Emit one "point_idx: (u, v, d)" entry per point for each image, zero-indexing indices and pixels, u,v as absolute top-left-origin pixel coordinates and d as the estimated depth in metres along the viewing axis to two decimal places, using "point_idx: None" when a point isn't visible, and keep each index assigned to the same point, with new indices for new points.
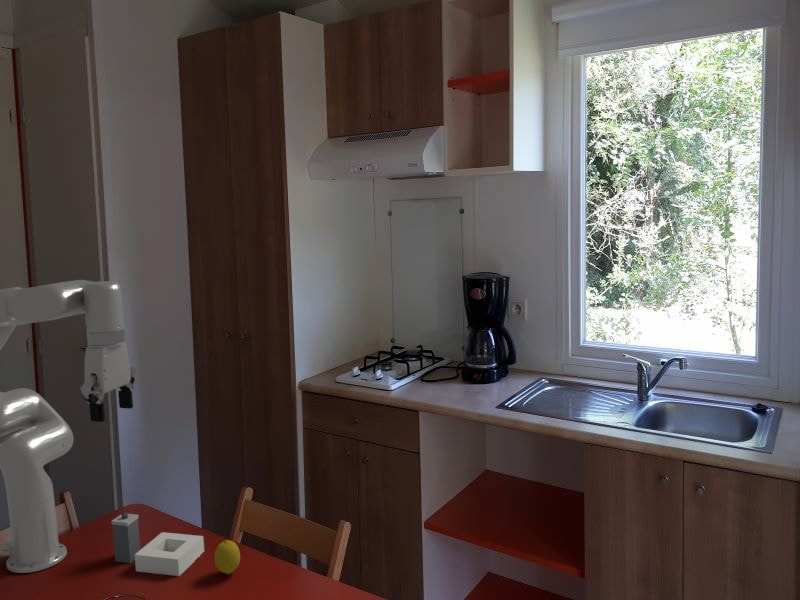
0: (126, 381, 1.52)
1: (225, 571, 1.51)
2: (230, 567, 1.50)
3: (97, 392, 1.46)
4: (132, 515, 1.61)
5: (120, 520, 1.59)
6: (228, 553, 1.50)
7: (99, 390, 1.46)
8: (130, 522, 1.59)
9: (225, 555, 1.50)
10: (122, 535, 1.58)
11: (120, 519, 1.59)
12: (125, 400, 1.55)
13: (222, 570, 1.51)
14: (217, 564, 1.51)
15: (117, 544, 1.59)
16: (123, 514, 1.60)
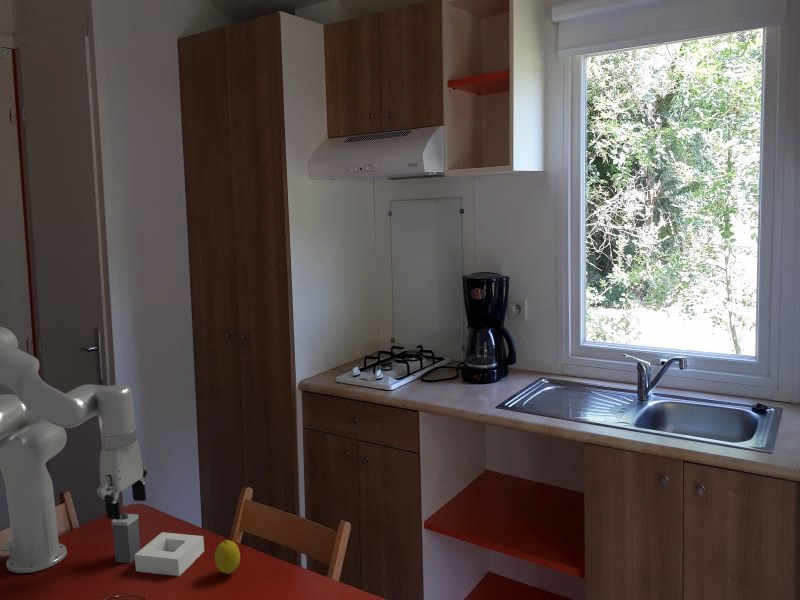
0: (139, 477, 1.61)
1: (225, 571, 1.51)
2: (230, 567, 1.50)
3: (112, 491, 1.55)
4: (132, 515, 1.61)
5: (120, 520, 1.59)
6: (228, 553, 1.50)
7: (114, 490, 1.54)
8: (130, 522, 1.59)
9: (225, 555, 1.50)
10: (122, 535, 1.58)
11: (120, 519, 1.59)
12: (138, 493, 1.64)
13: (222, 570, 1.51)
14: (217, 564, 1.51)
15: (117, 544, 1.59)
16: (123, 514, 1.60)
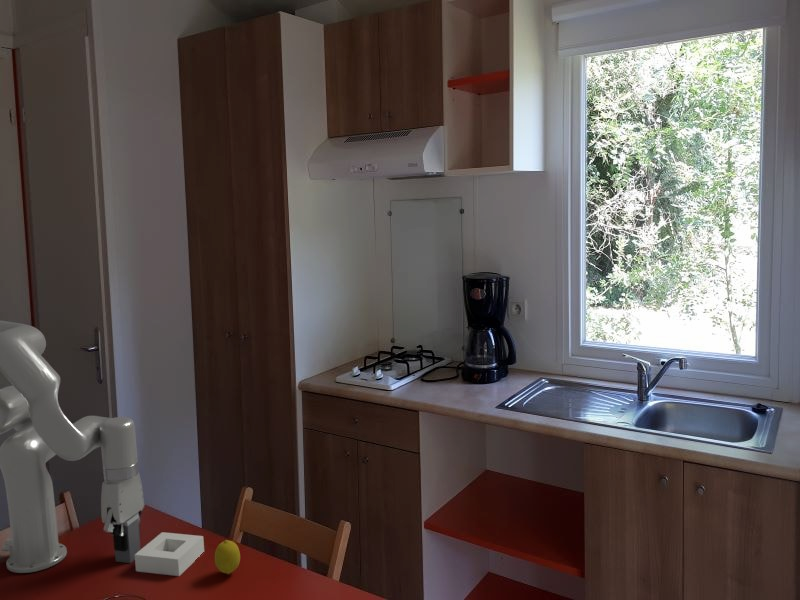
0: (139, 508, 1.62)
1: (225, 571, 1.51)
2: (230, 567, 1.50)
3: None
4: None
5: None
6: (228, 553, 1.50)
7: None
8: (130, 522, 1.59)
9: (225, 555, 1.50)
10: None
11: None
12: None
13: (222, 570, 1.51)
14: (217, 564, 1.51)
15: None
16: None
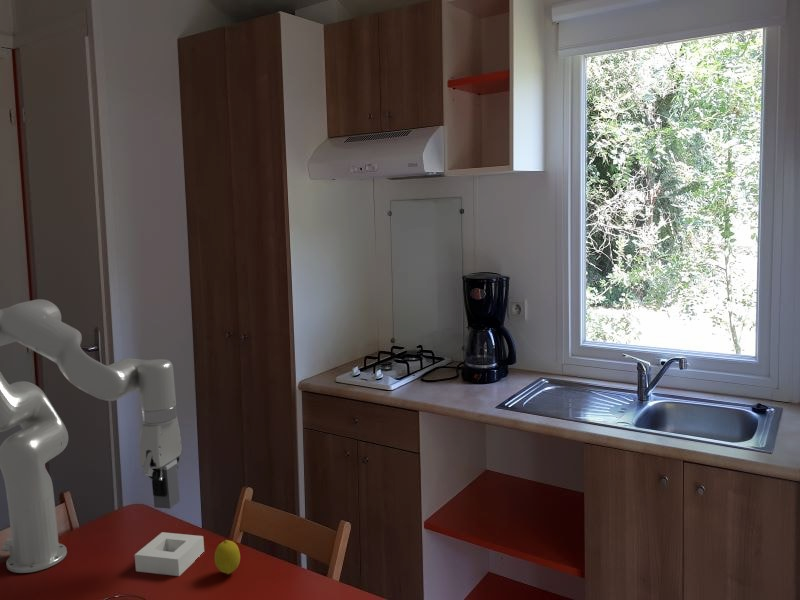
0: (178, 454, 1.58)
1: (225, 571, 1.51)
2: (230, 567, 1.50)
3: (156, 468, 1.54)
4: None
5: None
6: (228, 553, 1.50)
7: (158, 468, 1.53)
8: (169, 466, 1.55)
9: (225, 555, 1.50)
10: None
11: None
12: None
13: (222, 570, 1.51)
14: (217, 564, 1.51)
15: None
16: None
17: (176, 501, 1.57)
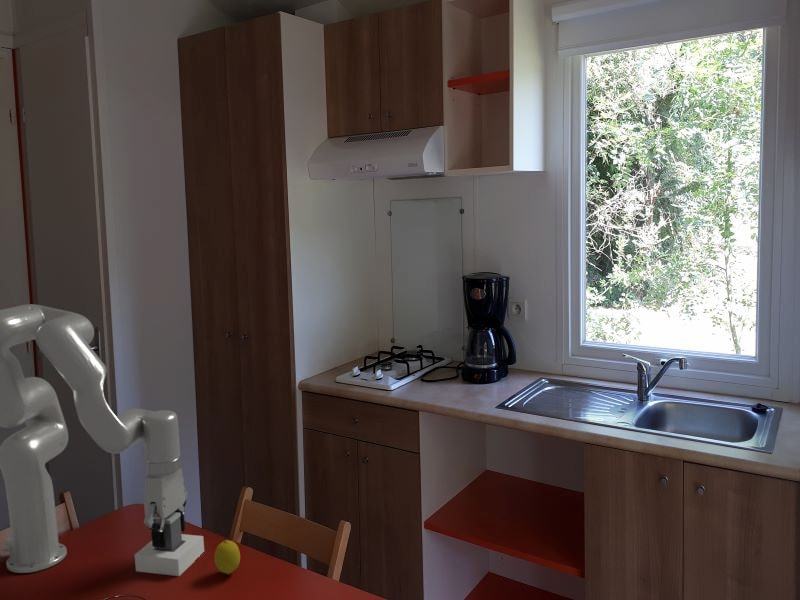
0: (181, 503, 1.60)
1: (225, 571, 1.51)
2: (230, 567, 1.50)
3: (158, 519, 1.54)
4: (174, 513, 1.59)
5: None
6: (228, 553, 1.50)
7: (159, 518, 1.53)
8: (173, 520, 1.56)
9: (225, 555, 1.50)
10: (165, 533, 1.56)
11: None
12: None
13: (222, 570, 1.51)
14: (217, 564, 1.51)
15: None
16: None
17: None
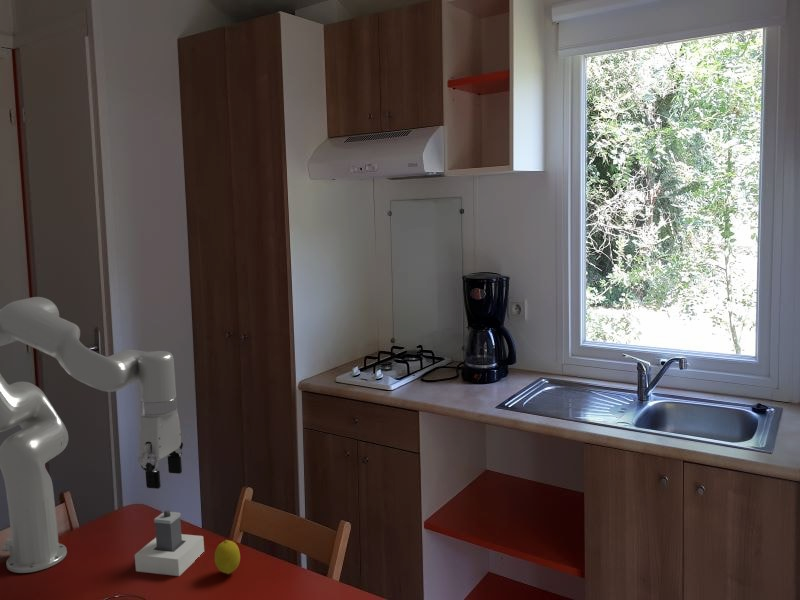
0: (177, 446, 1.58)
1: (225, 571, 1.51)
2: (230, 567, 1.50)
3: (152, 460, 1.52)
4: (174, 513, 1.59)
5: (163, 518, 1.56)
6: (228, 553, 1.50)
7: (154, 458, 1.51)
8: (173, 520, 1.56)
9: (225, 554, 1.50)
10: (165, 533, 1.56)
11: (163, 517, 1.57)
12: (174, 465, 1.60)
13: (222, 570, 1.51)
14: (217, 564, 1.51)
15: (160, 542, 1.57)
16: (165, 512, 1.57)
17: None
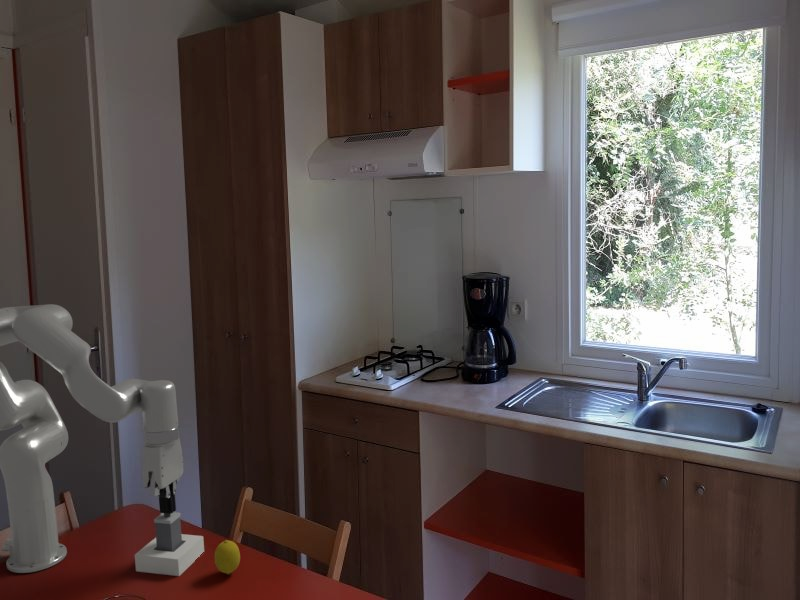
0: (180, 474, 1.59)
1: (225, 571, 1.51)
2: (230, 567, 1.50)
3: None
4: (174, 513, 1.59)
5: (163, 518, 1.56)
6: (228, 553, 1.50)
7: (163, 487, 1.55)
8: (173, 520, 1.56)
9: (225, 555, 1.50)
10: (165, 533, 1.56)
11: (163, 517, 1.57)
12: None
13: (222, 570, 1.51)
14: (217, 564, 1.51)
15: (160, 542, 1.57)
16: None
17: None
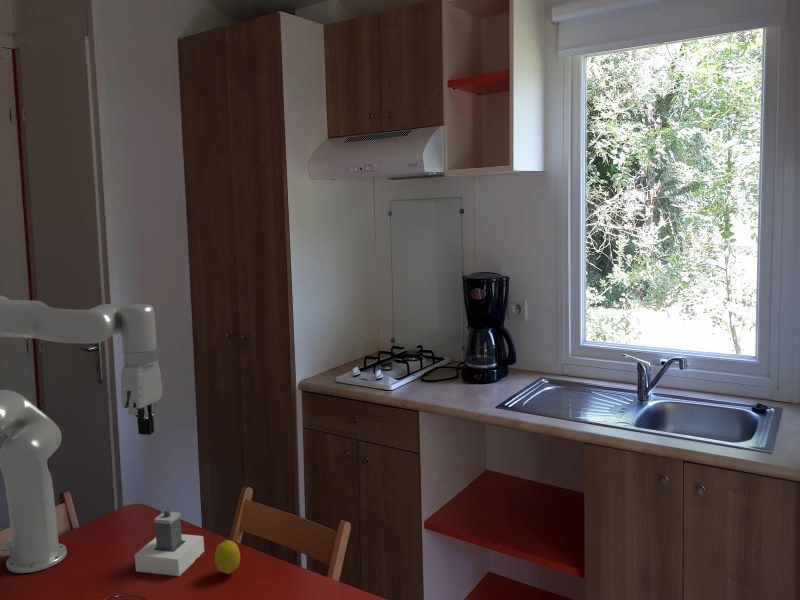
0: (158, 397, 1.63)
1: (225, 571, 1.51)
2: (230, 567, 1.50)
3: None
4: (174, 513, 1.59)
5: (163, 518, 1.56)
6: (228, 553, 1.50)
7: (141, 408, 1.58)
8: (173, 520, 1.56)
9: (225, 555, 1.50)
10: (165, 533, 1.56)
11: (163, 517, 1.57)
12: None
13: (222, 570, 1.51)
14: (217, 564, 1.51)
15: (160, 542, 1.57)
16: (165, 512, 1.57)
17: None
